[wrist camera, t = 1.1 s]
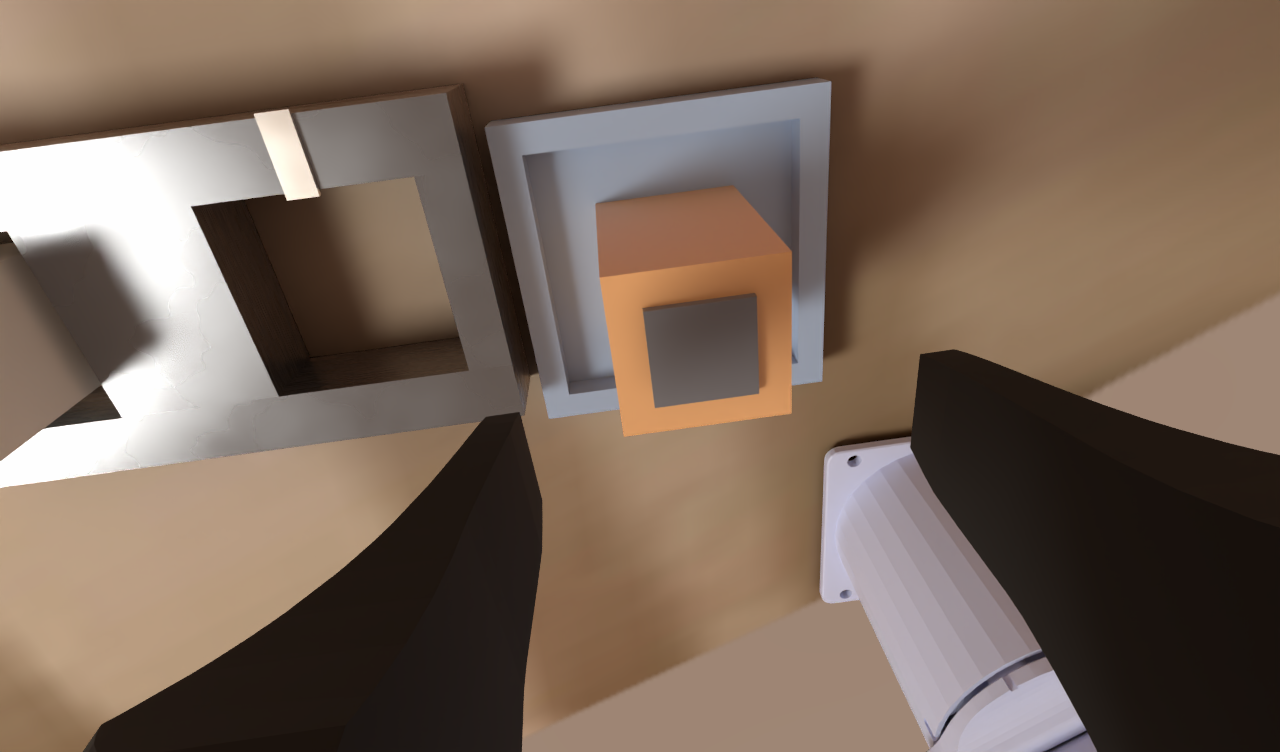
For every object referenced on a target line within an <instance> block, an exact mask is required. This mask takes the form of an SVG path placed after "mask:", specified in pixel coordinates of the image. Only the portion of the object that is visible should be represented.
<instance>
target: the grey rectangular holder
mask: <svg viewBox="0 0 1280 752" xmlns="http://www.w3.org/2000/svg"><path fill="white" fill-rule="evenodd" d="M407 177H414V178H415V181H416V185H417V188H418V192H419V195H420V199H421V202H422V206H423V209H424V213H425V216H426V220H427V224H428V227H429V231H430V234H431V238H432V241H433V245H434V248H435V252H436V255H437V259H438V262H439V266H440V269H441V273H442V277H443V280H444V284H445V287H446V291H447V294H448V298H449V301H450V305H451V308H452V312H453V315H454V319H455V323H456V326H457V330H458V333H459V337H460V338H453V339H446V340H438V341H431V342H424V343H416V344H409V345H402V346H394V347H387V348H380V349H372V350H365V351H358V352H350V353H343V354H336V355H328V356H321V357H314V358H310V357H309V355H308V352H307V350H306V347H305V345H304V343H303V340H302V338H301V335H300V333H299V331H298V328H297V326H296V324H295V321H294V319H293V316H292V314H291V312H290V309H289V307H288V304H287V302H286V300H285V297H284V295H283V293H282V290H281V288H280V285H279V283H278V281H277V278H276V276H275V273H274V271H273V269H272V266H271V264H270V262H269V259H268V257H267V254H266V252H265V250H264V247H263V245H262V243H261V240H260V238H259V235H258V233H257V231H256V228H255V226H254V223H253V221H252V219H251V216H250V214H249V212H248V209H247V207H246V204H245V202H244V200H243V199H250V198H257V197H265V196H272V195H280V194H285V197H286V199H287V201H289V200H296V199H304V198H311V197H319V196H321V194H320V191H319V189H324V188H332V187H339V186H347V185H354V184H362V183H369V182H377V181H384V180H392V179H399V178H407ZM3 231H7V232H8V234H9V235H10V237H11V239H12V240H13V242H14V244H15V245H16V247H17V248H18V250H19V252H20V253H21V255H22V257H23V258H24V260H25V261H26V263H27V265H28V266H29V268H30V269H31V271H32V273H33V274H34V276H35V278H36V279H37V281H38V282H39V284H40V286H41V287H42V289H43V291H44V292H45V294H46V295H47V297H48V299H49V300H50V302H51V304H52V305H53V307H54V308H55V310H56V312H57V313H58V315H59V316H60V318H61V320H62V321H63V323H64V325H65V326H66V328H67V329H68V331H69V333H70V334H71V336H72V338H73V339H74V341H75V342H76V344H77V346H78V347H79V349H80V351H81V352H82V354H83V355H84V357H85V359H86V360H87V362H88V363H89V365H90V367H91V368H92V370H93V372H94V373H95V375H96V376H97V378H98V380H99V381H100V383H101V385H102V386H101V387H98V388H96V389H95V390H94V391H93V392H91V393H90V394H89V395H87V396H86V397H85V398H83V399H82V400H81V401H79V402H78V403H77V404H75V405H74V406H73V407H71V408H70V409H69V410H68V411H66V412H65V413H64V414H62V415H61V416H60V417H58V418H57V419H56V420H54V421H53V422H52V423H50V424H49V425H48V426H47V427H45V428H44V429H43V430H41V431H40V432H39V433H37V434H36V435H35V436H33V437H32V438H31V439H29V440H28V441H27V442H25V443H24V444H23V445H22V446H20V447H19V448H18V449H16V450H15V451H14V452H12V453H11V454H10V455H8V456H7V457H6V458H4V459H3V460H2V461H1V462H0V488H1V487H8V486H15V485H22V484H30V483H37V482H44V481H51V480H59V479H66V478H73V477H80V476H88V475H95V474H102V473H109V472H117V471H124V470H131V469H139V468H146V467H153V466H160V465H168V464H175V463H182V462H189V461H197V460H204V459H211V458H218V457H226V456H233V455H240V454H247V453H255V452H262V451H269V450H276V449H284V448H291V447H298V446H306V445H313V444H320V443H327V442H335V441H342V440H349V439H356V438H364V437H371V436H378V435H385V434H393V433H400V432H407V431H414V430H422V429H429V428H436V427H443V426H451V425H458V424H465V423H473V422H480V421H482V420H483V419H484V418H485V417H488V416H495V415H502V414H508V413H515V412H520V416H523V415H525V409H526V402H527V396H528V389H529V382H530V373H529V368H528V364H527V360H526V355H525V351H524V346H523V342H522V338H521V333H520V329H519V325H518V320H517V316H516V312H515V307H514V303H513V299H512V294H511V290H510V286H509V281H508V277H507V272H506V268H505V264H504V259H503V255H502V251H501V246H500V242H499V238H498V233H497V229H496V225H495V220H494V216H493V212H492V207H491V203H490V198H489V194H488V190H487V185H486V181H485V177H484V172H483V168H482V164H481V159H480V155H479V151H478V146H477V142H476V138H475V133H474V129H473V124H472V120H471V116H470V111H469V107H468V103H467V98H466V94H465V90H464V85H463V84H455V85H448V86H440V87H432V88H425V89H417V90H410V91H402V92H395V93H387V94H380V95H372V96H365V97H357V98H350V99H342V100H334V101H327V102H319V103H312V104H304V105H297V106H289V107H282V108H274V109H267V110H259V111H251V112H244V113H236V114H229V115H221V116H214V117H206V118H199V119H191V120H184V121H176V122H169V123H161V124H153V125H146V126H138V127H131V128H123V129H116V130H108V131H101V132H93V133H86V134H78V135H71V136H63V137H55V138H48V139H40V140H33V141H25V142H18V143H10V144H3V145H0V232H3Z"/></svg>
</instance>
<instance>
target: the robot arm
mask: <svg viewBox="0 0 1280 752" xmlns="http://www.w3.org/2000/svg"><path fill="white" fill-rule="evenodd" d="M852 456H857V457H856V458H855V459H853V460H851V461H848V459H849V458H850V457H852ZM541 554H542V498H541V494H540V490H539V486H538V482H537V478H536V474H535V470H534V466H533V462H532V459H531V455H530V451H529V447H528V443H527V439H526V435H525V431H524V427H523V423H522V419H521V416H520V412H515V413H508V414H502V415H495V416H488V417H485V418H484V419H483V420H482V422H481V423H480V424H479V425H478V426H477V428H476V429H475V430H474V431H473V432H472V434H471V435H470V436H469V437H468V439H467V440H466V441H465V442H464V444H463V445H462V446H461V447H460V449H459V450H458V451H457V452H456V453H455V455H454V456H453V457H452V458H451V459H450V461H449V462H448V463H447V464H446V465H445V467H444V468H443V469H442V470H441V471H440V472H439V474H438V475H437V476H436V477H435V478H434V480H433V481H432V482H431V483H430V484H429V485H428V486H427V487H426V488H425V490H424V491H423V492H422V493H421V494H420V495H419V496H418V497H417V498H416V499H415V500H414V501H413V502H412V503H411V504H410V505H409V507H408V508H407V509H406V510H405V511H404V512H403V513H402V514H401V515H400V516H399V517H398V518H397V519H396V520H395V521H394V522H393V523H392V524H391V525H390V526H389V527H388V528H387V529H386V530H385V531H384V532H383V533H382V534H381V535H380V536H379V537H378V538H377V539H376V540H375V541H374V542H372V543H371V544H370V545H369V546H368V547H367V548H366V549H365V550H363V551H362V552H361V553H360V554H359V555H358V556H357V557H355V558H354V559H353V560H352V561H351V562H350V563H349V564H347V565H346V566H345V567H344V568H343V569H341V570H340V571H339V572H338V573H337V574H335V575H334V576H333V577H331V578H330V579H329V580H328V581H326V582H325V583H324V584H322V585H321V586H320V587H318V588H317V589H316V590H314V591H313V592H312V593H311V594H309V595H308V596H307V597H305V598H304V599H303V600H301V601H300V602H299V603H297V604H296V605H295V606H294V607H292V608H291V609H290V610H288V611H287V612H286V613H284V614H283V615H281V616H280V617H279V618H277V619H276V620H274V621H273V622H271V623H270V624H268V625H267V626H266V627H264V628H263V629H261V630H260V631H258V632H257V633H255V634H254V635H252V636H251V637H249V638H248V639H246V640H245V641H243V642H242V643H240V644H239V645H237V646H235V647H234V648H232V649H231V650H229V651H228V652H226V653H225V654H223V655H221V656H220V657H218V658H217V659H215V660H214V661H212V662H210V663H209V664H207V665H205V666H204V667H202V668H201V669H199V670H197V671H196V672H194V673H192V674H191V675H189V676H187V677H185V678H184V679H182V680H180V681H178V682H177V683H175V684H173V685H171V686H170V687H168V688H166V689H164V690H163V691H161V692H159V693H157V694H156V695H154V696H152V697H150V698H149V699H147V700H145V701H143V702H142V703H140V704H138V705H136V706H135V707H133V708H131V709H129V710H128V711H126V712H124V713H122V714H120V715H118V716H117V717H115V718H113V719H111V720H109V721H107V722H105V723H104V724H102V725H101V726H100V727H99V729H98V730H97V732H96V733H95V735H94V736H93V737H92V739H91V740H90V742H89V743H88V745H87V746H86V748H85V749H84V751H83V752H522V729H523V701H524V684H525V674H526V663H527V656H528V649H529V642H530V635H531V628H532V620H533V613H534V606H535V599H536V592H537V585H538V577H539V570H540V562H541ZM844 590H845V591H844ZM820 594H821V596H822V599H823V600H824V601H825V602H827V603H839V602H846V601H853V600H860V602H861V604H862V606H863V608H864V610H865V612H866V614H867V616H868V619H869V621H870V623H871V625H872V627H873V629H874V631H875V633H876V636H877V638H878V640H879V642H880V644H881V646H882V648H883V650H884V652H885V654H886V657H887V659H888V661H889V663H890V665H891V667H892V669H893V672H894V674H895V676H896V678H897V680H898V682H899V684H900V686H901V689H902V691H903V692H904V695H905V697H906V699H907V701H908V703H909V705H910V708H911V710H912V712H913V714H914V716H915V718H916V720H917V722H918V725H919V727H920V729H921V731H922V733H923V735H924V737H925V739H926V741H927V744H928V746H929V748H930V749H929V750H928V751H926V752H1280V455H1277V454H1272V453H1267V452H1263V451H1259V450H1254V449H1250V448H1246V447H1242V446H1237V445H1234V444H1230V443H1226V442H1222V441H1219V440H1215V439H1212V438H1208V437H1204V436H1200V435H1197V434H1194V433H1190V432H1186V431H1182V430H1179V429H1176V428H1172V427H1169V426H1166V425H1162V424H1159V423H1155V422H1153V421H1149V420H1146V419H1143V418H1140V417H1137V416H1134V415H1132V414H1129V413H1125V412H1123V411H1120V410H1116V409H1114V408H1111V407H1108V406H1105V405H1102V404H1100V403H1097V402H1094V401H1091V400H1089V399H1086V398H1083V397H1080V396H1078V395H1075V394H1073V393H1070V392H1067V391H1065V390H1062V389H1060V388H1057V387H1054V386H1052V385H1049V384H1047V383H1044V382H1042V381H1039V380H1037V379H1034V378H1031V377H1029V376H1026V375H1024V374H1021V373H1019V372H1016V371H1014V370H1011V369H1009V368H1006V367H1004V366H1001V365H999V364H996V363H993V362H991V361H988V360H985V359H983V358H980V357H977V356H974V355H971V354H968V353H965V352H962V351H958V350H947V351H940V352H933V353H926V354H920V361H919V370H918V379H917V388H916V398H915V407H914V416H913V425H912V435H911V437H904V438H897V439H889V440H882V441H875V442H868V443H861V444H853V445H846V446H839V447H835V448H833V449H831V450H830V451H828V453H827V454H826V455H825V459H824V484H823V512H822V541H821V569H820Z"/></svg>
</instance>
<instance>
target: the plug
mask: <svg viewBox="0 0 1280 752" xmlns="http://www.w3.org/2000/svg"><path fill="white" fill-rule="evenodd" d="M595 209H596V227H597V244H598V262H599V278H600V285H601V291H602V298H603V304H604V311H605V317H606V324H607V330H608V336H609V343H610V349H611V356H612V362H613V369H614V375H615V382H616V388H617V395H618V401H619V408H620V414H621V421H622V427H623V434H624V437H625V436H633V435H640V434H647V433H654V432H662V431H669V430H676V429H683V428H690V427H698V426H705V425H712V424H719V423H727V422H734V421H741V420H748V419H756V418H763V417H770V416H777V415H784V414H791V407H792V251H791V250H790V249H789V248H788V246H787V245H786V244H785V243H784V242H783V241H782V240H781V239H780V237H779V236H778V235H777V234H776V233H775V232H774V231H773V229H772V228H771V227H770V226H769V225H768V224H767V223H766V222H765V220H764V219H763V218H762V217H761V216H760V215H759V214H758V213H757V211H756V210H755V209H754V208H753V207H752V206H751V205H750V204H749V202H748V201H747V200H746V199H745V198H744V197H743V196H742V194H741V193H740V192H739V191H738V190H737V189H736V188H735V187H734V185H730V186H723V187H715V188H708V189H700V190H693V191H686V192H678V193H671V194H663V195H656V196H648V197H641V198H634V199H626V200H619V201H611V202H604V203H596V204H595Z"/></svg>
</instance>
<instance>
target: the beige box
mask: <svg viewBox="0 0 1280 752" xmlns="http://www.w3.org/2000/svg"><path fill="white" fill-rule="evenodd" d="M100 385H101V383H100V381H99V380H98V378H97V376H96V375H95V373H94V372H93V370H92V368H91V367H90V365H89V363H88V362H87V360H86V359H85V357H84V355H83V354H82V352H81V351H80V349H79V347H78V346H77V344H76V342H75V341H74V339H73V338H72V336H71V334H70V333H69V331H68V329H67V328H66V326H65V325H64V323H63V321H62V320H61V318H60V316H59V315H58V313H57V312H56V310H55V308H54V307H53V305H52V304H51V302H50V300H49V299H48V297H47V295H46V294H45V292H44V291H43V289H42V287H41V286H40V284H39V282H38V281H37V279H36V278H35V276H34V274H33V273H32V271H31V269H30V268H29V266H28V265H27V263H26V261H25V260H24V258H23V257H22V255H21V253H20V252H19V250H18V248H17V247H16V245H15V244H14V242H13V243H5V244H0V462H1V461H2V460H3V459H4V458H6V457H7V456H8V455H10V454H11V453H12V452H14V451H15V450H16V449H18V448H19V447H20V446H22V445H23V444H24V443H25V442H27V441H28V440H29V439H31V438H32V437H33V436H35V435H36V434H37V433H39V432H40V431H41V430H43V429H44V428H45V427H47V426H48V425H49V424H50V423H52V422H53V421H54V420H56V419H57V418H58V417H60V416H61V415H62V414H64V413H65V412H66V411H68V410H69V409H70V408H71V407H73V406H74V405H75V404H77V403H78V402H79V401H81V400H82V399H83V398H85V397H86V396H87V395H89V394H90V393H91V392H93V391H94V390H95V389H96V388H98V387H99V386H100Z"/></svg>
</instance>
